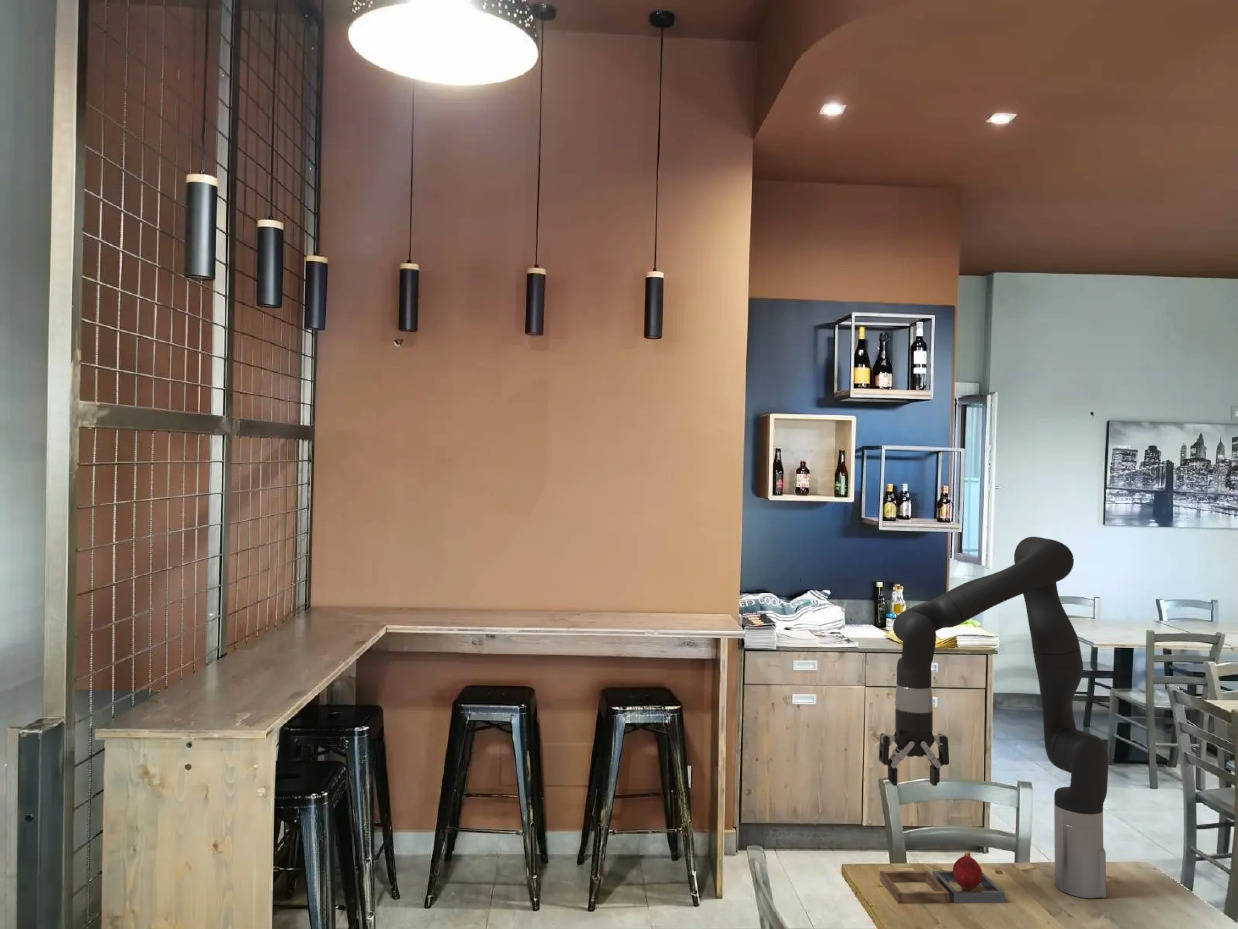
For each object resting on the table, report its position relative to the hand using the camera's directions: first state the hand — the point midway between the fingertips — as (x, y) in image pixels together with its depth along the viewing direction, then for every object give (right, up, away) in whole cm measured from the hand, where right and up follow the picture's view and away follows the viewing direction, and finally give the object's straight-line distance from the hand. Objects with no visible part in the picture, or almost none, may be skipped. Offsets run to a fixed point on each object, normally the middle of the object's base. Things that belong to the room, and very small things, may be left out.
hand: (913, 784), depth 183 cm
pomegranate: (+11, -23, 0) cm, 25 cm away
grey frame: (+11, -22, 0) cm, 25 cm away
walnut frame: (0, -22, -1) cm, 22 cm away
